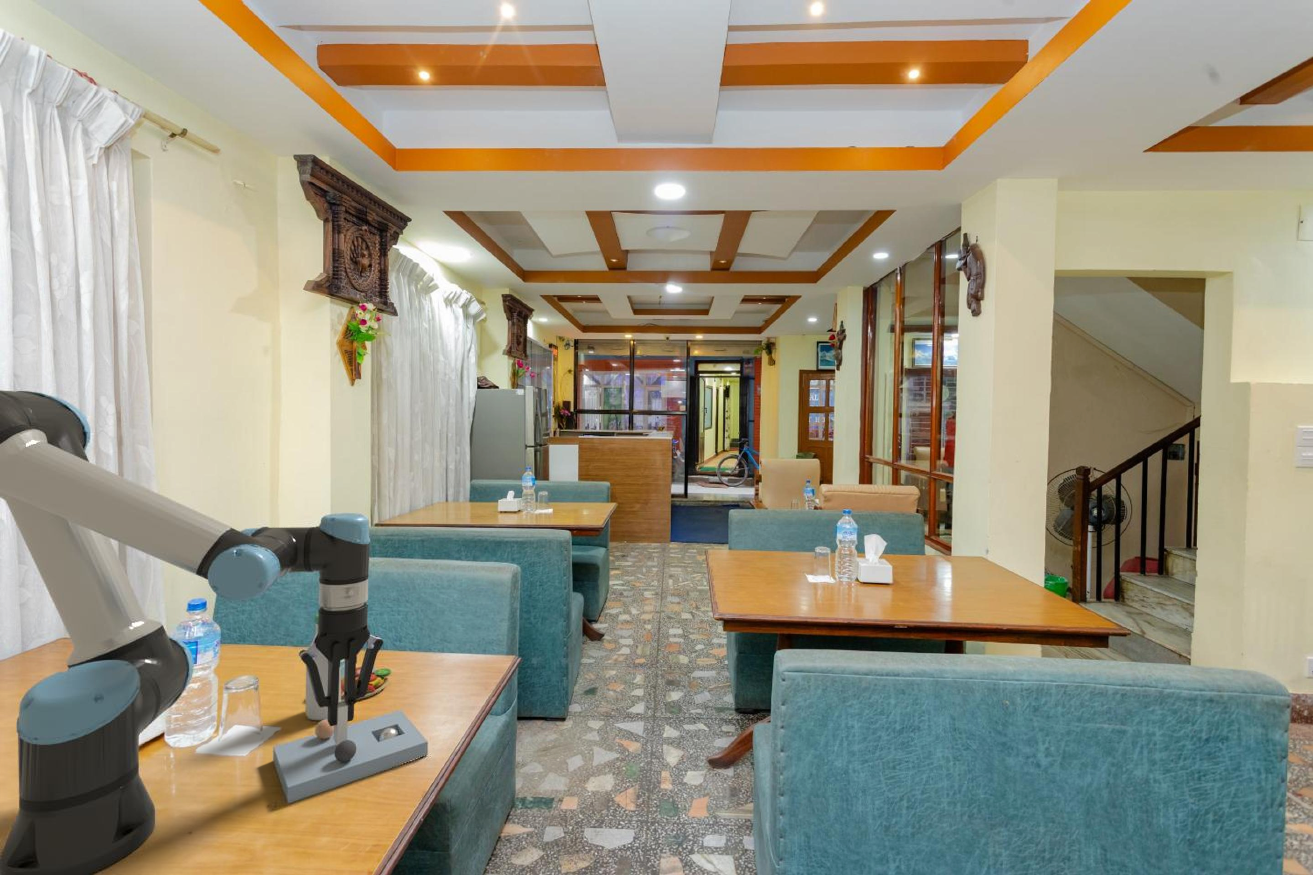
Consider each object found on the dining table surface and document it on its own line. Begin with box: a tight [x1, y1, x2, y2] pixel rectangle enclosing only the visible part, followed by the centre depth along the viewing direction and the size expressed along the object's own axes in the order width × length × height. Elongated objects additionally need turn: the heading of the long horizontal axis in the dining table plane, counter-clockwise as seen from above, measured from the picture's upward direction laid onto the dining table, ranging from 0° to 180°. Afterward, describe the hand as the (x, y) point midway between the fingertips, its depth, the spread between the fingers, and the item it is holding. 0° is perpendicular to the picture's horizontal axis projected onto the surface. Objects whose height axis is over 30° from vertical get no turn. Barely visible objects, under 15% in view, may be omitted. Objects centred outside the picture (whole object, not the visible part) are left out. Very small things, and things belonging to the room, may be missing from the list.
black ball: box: [335, 740, 356, 762], centre depth 97 cm, size 3×3×3 cm
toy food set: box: [355, 666, 392, 701], centre depth 130 cm, size 13×13×3 cm
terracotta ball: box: [314, 719, 334, 739], centre depth 104 cm, size 3×3×3 cm
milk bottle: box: [305, 613, 345, 721], centre depth 119 cm, size 8×8×20 cm
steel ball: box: [379, 728, 399, 742], centre depth 106 cm, size 3×3×3 cm
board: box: [272, 709, 429, 805], centre depth 103 cm, size 21×15×2 cm
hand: (340, 741), depth 102 cm, fingers closed
